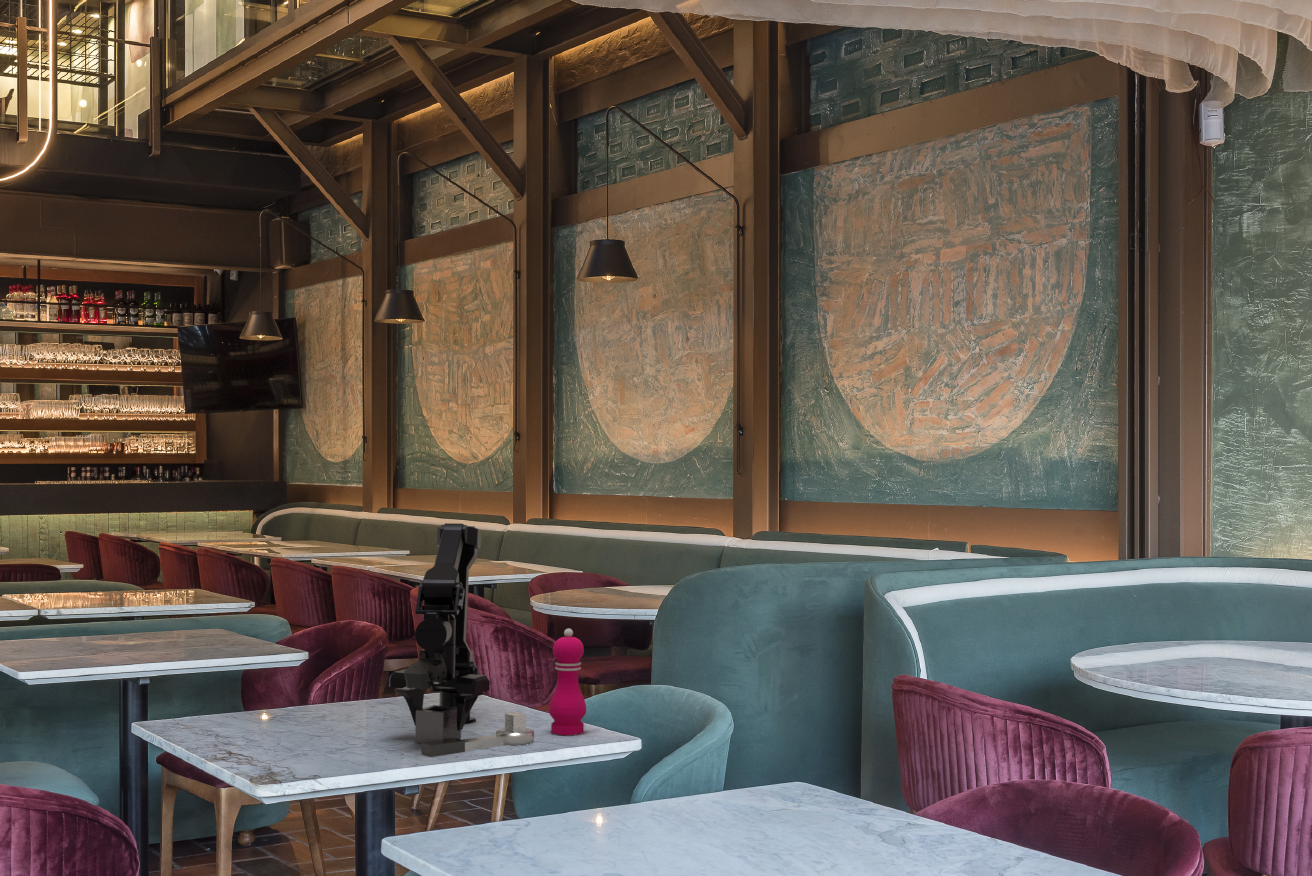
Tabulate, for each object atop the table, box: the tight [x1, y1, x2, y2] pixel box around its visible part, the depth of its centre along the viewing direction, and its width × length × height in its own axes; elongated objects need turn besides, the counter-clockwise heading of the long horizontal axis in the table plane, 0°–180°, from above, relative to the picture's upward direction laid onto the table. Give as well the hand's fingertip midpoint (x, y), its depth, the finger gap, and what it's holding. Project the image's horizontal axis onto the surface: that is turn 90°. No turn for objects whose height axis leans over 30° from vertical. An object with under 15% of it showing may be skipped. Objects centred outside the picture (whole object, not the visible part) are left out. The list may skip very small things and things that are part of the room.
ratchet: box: [420, 711, 535, 758], centre depth 232 cm, size 7×22×5 cm, turn 131°
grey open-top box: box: [414, 704, 462, 745], centre depth 236 cm, size 6×6×6 cm
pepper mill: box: [548, 628, 587, 736], centre depth 246 cm, size 7×7×20 cm
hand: (438, 728), depth 236 cm, fingers open, 9 cm apart
